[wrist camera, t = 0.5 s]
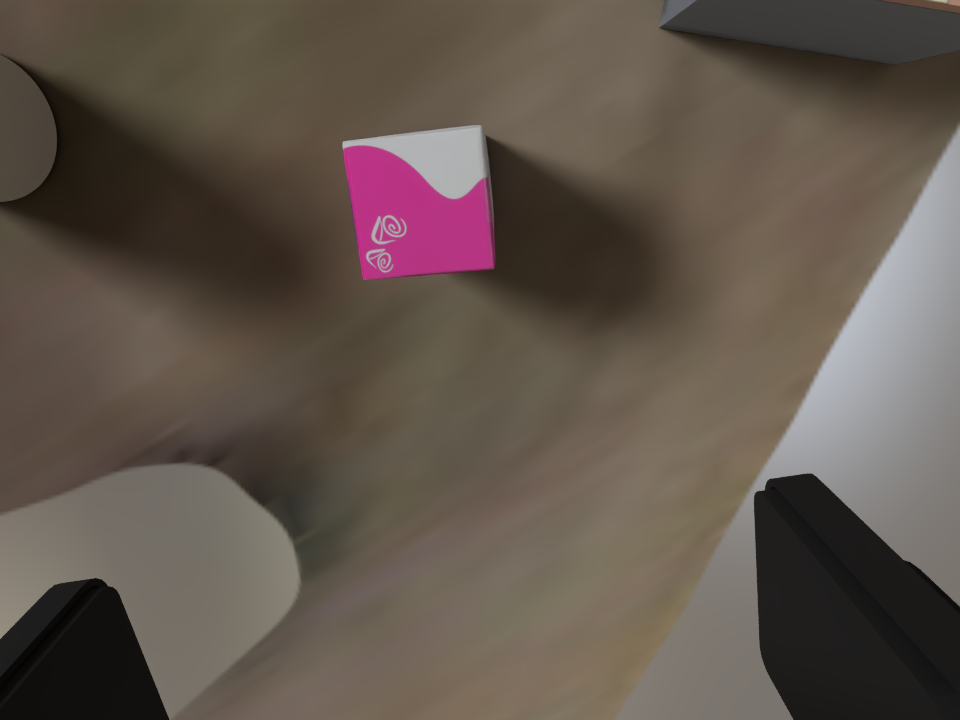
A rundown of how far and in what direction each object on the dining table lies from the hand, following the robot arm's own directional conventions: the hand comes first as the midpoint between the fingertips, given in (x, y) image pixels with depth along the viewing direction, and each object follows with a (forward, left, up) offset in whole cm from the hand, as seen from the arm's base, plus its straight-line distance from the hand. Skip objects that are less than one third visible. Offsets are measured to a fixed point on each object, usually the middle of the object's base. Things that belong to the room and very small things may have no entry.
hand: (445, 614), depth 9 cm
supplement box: (-4, -2, -30) cm, 31 cm away
